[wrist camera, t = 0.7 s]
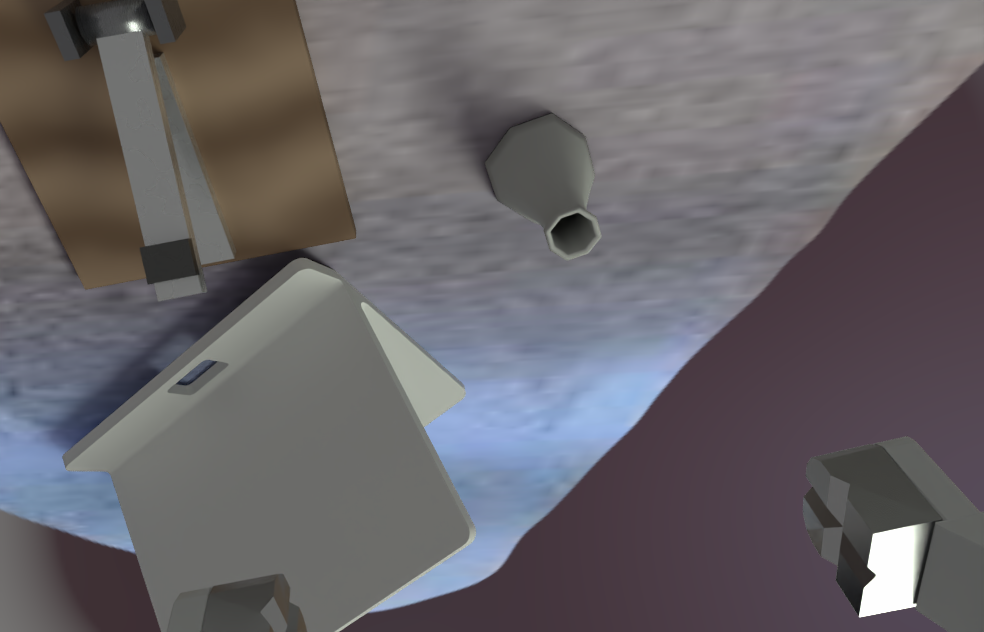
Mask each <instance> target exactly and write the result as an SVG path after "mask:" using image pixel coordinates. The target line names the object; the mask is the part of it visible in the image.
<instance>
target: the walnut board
mask: <svg viewBox="0 0 984 632" xmlns="http://www.w3.org/2000/svg"><path fill="white" fill-rule="evenodd" d="M62 1H63V0H0V122H1V124H2V126H3V128H4V130H5V132H6V134H7V136H8V138H9V140H10V142H11V144H12V146H13V148H14V150H15V152H16V154H17V156H18V158H19V160H20V161H21V163H22V165H23V167H24V169H25V171H26V173H27V175H28V177H29V179H30V181H31V183H32V185H33V187H34V189H35V191H36V193H37V195H38V197H39V199H40V201H41V203H42V205H43V207H44V209H45V211H46V213H47V215H48V217H49V219H50V221H51V223H52V225H53V227H54V229H55V231H56V233H57V235H58V236H59V238H60V240H61V242H62V244H63V246H64V248H65V250H66V252H67V254H68V256H69V258H70V260H71V262H72V264H73V266H74V268H75V270H76V272H77V274H78V276H79V278H80V280H81V282H82V284H83V286H84V288H85V290H86V289H91V288H97V287H102V286H107V285H112V284H118V283H123V282H128V281H134V280H139V279H144V278H146V274H145V270H144V266H143V262H142V257H141V253H140V249H139V248H140V247H145V244H144V239H143V235H142V231H141V227H140V222H139V218H138V214H137V210H136V206H135V201H134V197H133V193H132V189H131V184H130V180H129V176H128V172H127V167H126V163H125V159H124V155H123V150H122V146H121V142H120V138H119V133H118V129H117V125H116V121H115V116H114V112H113V108H112V104H111V99H110V95H109V91H108V87H107V82H106V78H105V74H104V70H103V65H102V61H101V57H100V53H99V48H98V45H95V46H93V47H92V48H91V49H90V50H89V51H88V52H87V53H85V54H84V55H83V56H82V57H81V58H80V59H74V60H69V61H64V59H63V56H62V54H61V52H60V49H59V47H58V45H57V43H56V40H55V38H54V36H53V34H52V31H51V29H50V27H49V24H48V22H47V20H46V18H45V15H44V13H46V12H47V11H49V10H50V9H52V8H53V7H55V6H56V5H57V4H59V3H60V2H62ZM79 1H80V3H81V6H84V5H90V4H96V3H101V2H107V1H113V0H79ZM177 1H178V4H179V7H180V10H181V13H182V15H183V18H184V21H185V24H186V29H185V30H184V31H183V32H182V34H181V35H180V36H179V38H178V39H177V40H176V42H170V43H165V44H160V42H159V39H158V36H157V35H152V36H149V38H150V43H151V47H152V52H153V54H157V53H164V55H165V58H166V61H167V63H168V66H169V69H170V72H171V74H172V77H173V80H174V83H175V85H176V88H177V91H178V93H179V96H180V99H181V102H182V104H183V107H184V110H185V113H186V115H187V118H188V121H189V123H190V126H191V129H192V132H193V134H194V137H195V140H196V142H197V145H198V148H199V151H200V153H201V156H202V159H203V162H204V164H205V167H206V170H207V172H208V175H209V178H210V181H211V183H212V186H213V189H214V192H215V194H216V197H217V200H218V202H219V205H220V208H221V211H222V213H223V216H224V219H225V222H226V224H227V227H228V230H229V232H230V235H231V238H232V241H233V243H234V246H235V249H236V254H235V258H234V259H229V260H224V261H219V262H213V263H208V264H203V265H201V266H202V267H207V266H212V265H218V264H223V263H228V262H234V261H239V260H244V259H249V258H255V257H260V256H265V255H270V254H276V253H281V252H286V251H291V250H297V249H302V248H307V247H312V246H318V245H323V244H328V243H334V242H339V241H344V240H349V239H355V238H356V228H355V224H354V221H353V217H352V213H351V209H350V205H349V202H348V198H347V194H346V190H345V187H344V183H343V179H342V175H341V171H340V168H339V164H338V160H337V156H336V152H335V149H334V145H333V141H332V137H331V134H330V130H329V126H328V122H327V118H326V115H325V111H324V107H323V103H322V99H321V96H320V92H319V88H318V84H317V81H316V77H315V73H314V69H313V65H312V62H311V58H310V54H309V50H308V46H307V43H306V39H305V35H304V31H303V28H302V24H301V20H300V16H299V12H298V9H297V5H296V1H295V0H177Z"/></svg>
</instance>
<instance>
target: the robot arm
mask: <svg viewBox="0 0 984 632" xmlns="http://www.w3.org/2000/svg"><path fill="white" fill-rule="evenodd" d="M806 477H807V479H808V480H809V482H810V483H811V485H812V488H811V489H810V490H809V491H808V492H807V494H806V495H805V496H804V502H803V515H804V519H805V524H806V528H807V531H808V534H809V536H810V538H811V540H812V543H813V544H814V546H815V548H816V549H817V551H818V553H819V554H820V556H821V557H823V558H825V559H826V560H828V561H830V562H832V563H833V564H835V565H837V566H838V567H837V575H836V581H837V583H838V585H839V586H840V588H841V589H842V591H843V592H844V594H845V596H846V597H847V599H848V600H849V602H850V603H851V605H852V607H853V608H854V610H855V611H856V613H857V614H858V616H859V617H863V616H867V615H873V614H878V613H883V612H888V611H893V610H898V609H903V608H909V607H914V606H916V608H915V609H916V610H917V611H919V612H920V613H921V614H923V615H924V616H926V617H928V618H929V619H931V620H932V621H933V622H935V623H936V624H938V625H939V626H941V627H942V628H944V629H945V630H947V631H948V632H984V512H980V511H979V510H978V509H977V508H976V507H975V506H974V505H973V504H972V503H971V502H970V501H969V500H968V498H966V496H965V495H964V494H963V493H962V492H961V491H960V490H959V489H958V487H957V486H956V485H955V484H954V483H953V482H952V481H951V480H950V479H949V478H948V476H947V475H945V473H944V472H943V471H942V470H941V469H940V468H939V467H938V466H937V464H936V463H935V462H934V461H933V460H932V459H931V458H930V457H929V456H928V455H927V454H926V452H925V451H924V450H923V449H922V448H921V447H920V446H919V445H918V444H917V443H916V441H915V440H913V439H911V438H909V437H907V436H906V437H902V438H897V439H893V440H888V441H884V442H879V443H875V444H869V445H864V446H860V447H855V448H851V449H847V450H842V451H838V452H834V453H829V454H825V455H821V456H816V457H812V458H811V459H810V461H809V462H808V463H807V469H806ZM289 599H290V586H289V584H288V582H287V580H286V578H285V576H284V574H274V575H269V576H264V577H258V578H253V579H248V580H243V581H237V582H232V583H227V584H222V585H216V586H213V587H208V588H203V589H198V590H193V591H188V592H183V593H180V594H179V596H178V597H177V599H176V600H175V602H174V603H173V607H172V611H171V615H170V620H169V624H168V628H167V632H307V629H306V625H305V621H304V617H303V615H302V613H301V610H300V608H299V607H298V606H296V605H294V604H292V603H290V602H289Z"/></svg>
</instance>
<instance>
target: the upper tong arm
mask: <svg viewBox="0 0 984 632" xmlns="http://www.w3.org/2000/svg"><path fill="white" fill-rule="evenodd" d="M75 16H76V22H77V25H78V28H79V31H80V33H81V35H82V37H83V39H84V40H85V42H86V43H87V44H88V45H90V46H95V45H98V48H99V53H100V57H101V61H102V65H103V70H104V74H105V78H106V82H107V87H108V91H109V95H110V99H111V104H112V108H113V112H114V116H115V121H116V125H117V129H118V133H119V138H120V142H121V146H122V150H123V155H124V159H125V163H126V167H127V172H128V176H129V180H130V184H131V189H132V193H133V197H134V201H135V206H136V210H137V214H138V218H139V222H140V227H141V231H142V235H143V239H144V244H145V247H140V248H139V249H140V253H141V257H142V262H143V266H144V270H145V274H146V278H147V283H148V284H154V286H155V290H156V295H157V299H158V301H163V300H168V299H173V298H179V297H184V296H189V295H194V294H200V293H205V292H207V288H206V283H205V279H204V275H203V270H202V266H201V262H200V257H199V253H198V248H197V244H196V240H195V235H194V231H193V227H192V222H191V218H190V213H189V209H188V205H187V200H186V196H185V192H184V187H183V183H182V178H181V174H180V170H179V165H178V161H177V157H176V152H175V148H174V143H173V139H172V135H171V130H170V126H169V122H168V117H167V113H166V108H165V104H164V100H163V95H162V91H161V87H160V82H159V78H158V73H157V69H156V65H155V60H154V56H153V52H152V47H151V43H150V38H149V36H152V35H157V34H156V31H155V28H154V26H153V23H152V20H151V17H150V15H149V12H148V9H147V7H146V4H145V1H144V0H113V1H107V2H101V3H96V4H90V5H84V6H79V7H77V8H76V10H75Z"/></svg>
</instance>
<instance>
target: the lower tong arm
mask: <svg viewBox="0 0 984 632" xmlns="http://www.w3.org/2000/svg"><path fill="white" fill-rule="evenodd" d="M144 1H145V4H146V7H147V9H148V12H149V15H150V17H151V20H152V23H153V26H154V28H155V31H156V34H157V36H158V39H159V42H160V44H165V43H170V42H176V40H177V39H178V38H179V36H180V35H181V34H182V32H183V31H184V30H185V29H186V24H185V21H184V18H183V15H182V13H181V10H180V7H179V4H178V1H177V0H144ZM79 6H81V3H80V1H79V0H63V1H62V2H60V3H59V4H57V5H56V6H55V7H53V8H52V9H50V10H49V11H47V12H46V13H44V15H45V18H46V20H47V22H48V24H49V27H50V29H51V31H52V34H53V36H54V38H55V40H56V43H57V45H58V47H59V49H60V52H61V54H62V56H63V59H64V61H69V60H74V59H80V58H81V57H82V56H83V55H84V54H85V53H87V52H88V51H89V50H90V49H91V48H92V47H93V46H90V45H88V44H87V43H86V42H85V40H84V39H83V37H82V35H81V33H80V31H79V28H78V25H77V22H76V16H75V10H76V8H77V7H79ZM153 56H154V60H155V65H156V69H157V73H158V78H159V82H160V87H161V91H162V95H163V100H164V104H165V108H166V113H167V117H168V122H169V126H170V130H171V135H172V139H173V143H174V148H175V152H176V157H177V161H178V165H179V170H180V174H181V178H182V183H183V187H184V192H185V196H186V200H187V205H188V209H189V213H190V218H191V222H192V227H193V231H194V235H195V240H196V244H197V248H198V253H199V257H200V262H201V265H203V264H208V263H213V262H219V261H224V260H229V259H234V258H235V254H236V249H235V246H234V243H233V241H232V238H231V235H230V232H229V230H228V227H227V224H226V222H225V219H224V216H223V213H222V211H221V208H220V205H219V202H218V200H217V197H216V194H215V192H214V189H213V186H212V183H211V181H210V178H209V175H208V172H207V170H206V167H205V164H204V162H203V159H202V156H201V153H200V151H199V148H198V145H197V142H196V140H195V137H194V134H193V132H192V129H191V126H190V123H189V121H188V118H187V115H186V113H185V110H184V107H183V104H182V102H181V99H180V96H179V93H178V91H177V88H176V85H175V83H174V80H173V77H172V74H171V72H170V69H169V66H168V63H167V61H166V58H165V55H164V53H157V54H153Z"/></svg>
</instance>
